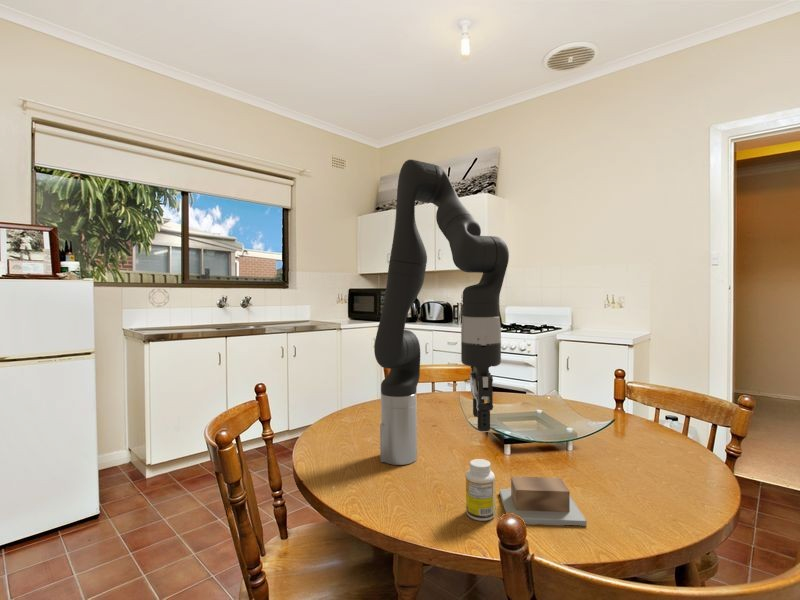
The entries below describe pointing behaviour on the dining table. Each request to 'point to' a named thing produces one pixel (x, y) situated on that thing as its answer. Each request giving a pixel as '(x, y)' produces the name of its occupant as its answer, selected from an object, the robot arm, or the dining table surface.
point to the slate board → (544, 513)
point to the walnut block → (540, 494)
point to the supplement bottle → (480, 490)
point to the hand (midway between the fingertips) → (481, 423)
